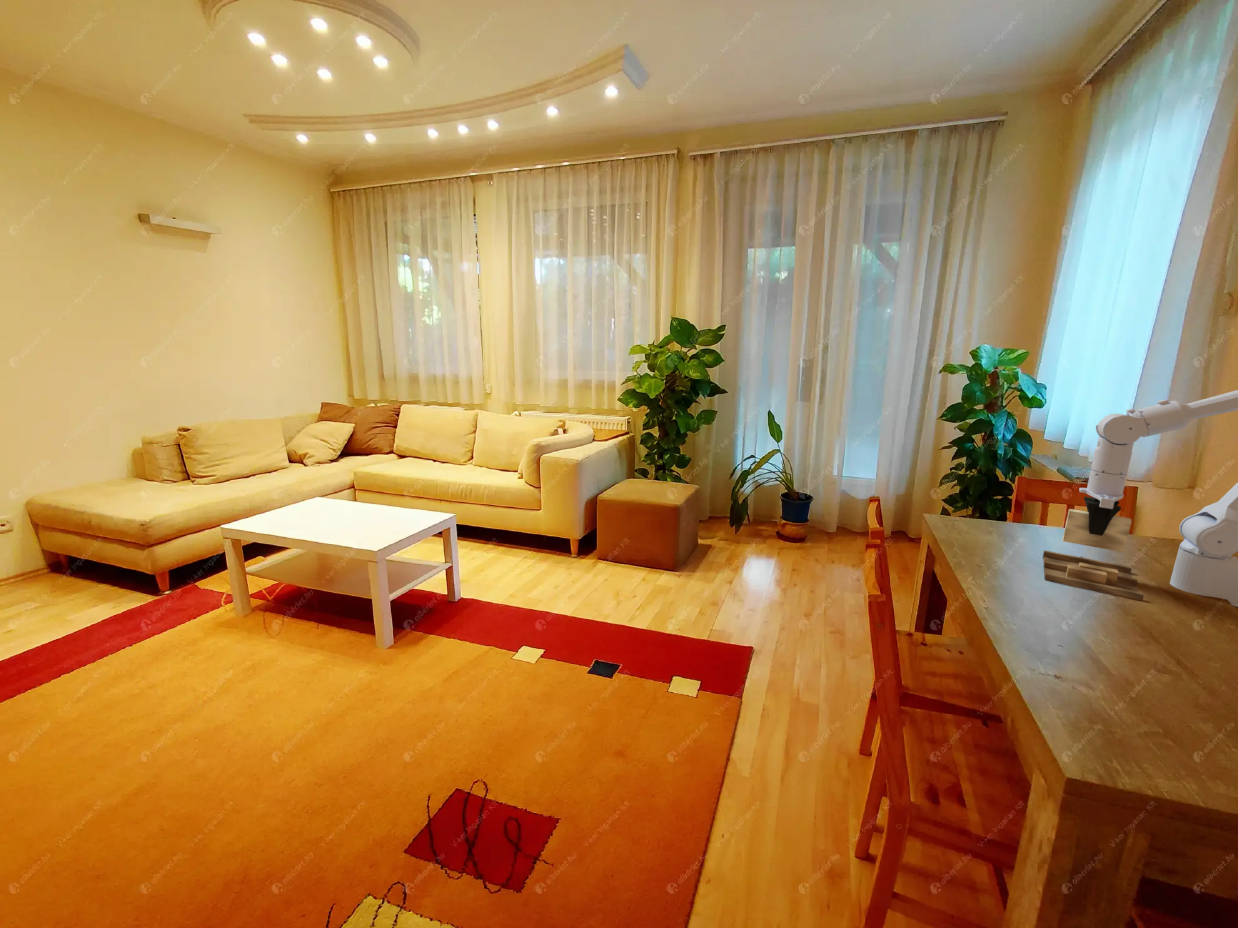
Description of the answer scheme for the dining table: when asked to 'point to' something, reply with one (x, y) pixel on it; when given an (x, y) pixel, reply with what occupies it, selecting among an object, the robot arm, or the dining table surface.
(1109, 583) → the teak offcut
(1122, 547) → the birch panel
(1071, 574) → the teak offcut
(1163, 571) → the dining table surface
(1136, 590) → the walnut rack
